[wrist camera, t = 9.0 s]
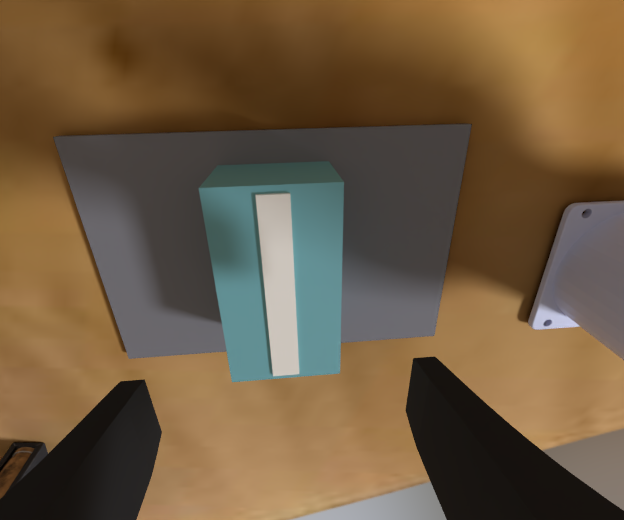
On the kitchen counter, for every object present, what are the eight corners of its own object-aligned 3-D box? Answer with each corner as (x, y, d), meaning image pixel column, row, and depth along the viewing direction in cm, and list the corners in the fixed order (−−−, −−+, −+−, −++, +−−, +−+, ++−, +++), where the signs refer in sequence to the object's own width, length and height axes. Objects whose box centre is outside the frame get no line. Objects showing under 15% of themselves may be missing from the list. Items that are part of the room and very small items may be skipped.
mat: (467, 123, 16) (471, 124, 15) (431, 331, 21) (434, 335, 21) (58, 136, 14) (53, 137, 14) (131, 353, 20) (128, 358, 19)
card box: (328, 321, 19) (340, 375, 16) (240, 327, 19) (231, 384, 15) (329, 161, 15) (344, 182, 12) (217, 165, 15) (197, 189, 11)
